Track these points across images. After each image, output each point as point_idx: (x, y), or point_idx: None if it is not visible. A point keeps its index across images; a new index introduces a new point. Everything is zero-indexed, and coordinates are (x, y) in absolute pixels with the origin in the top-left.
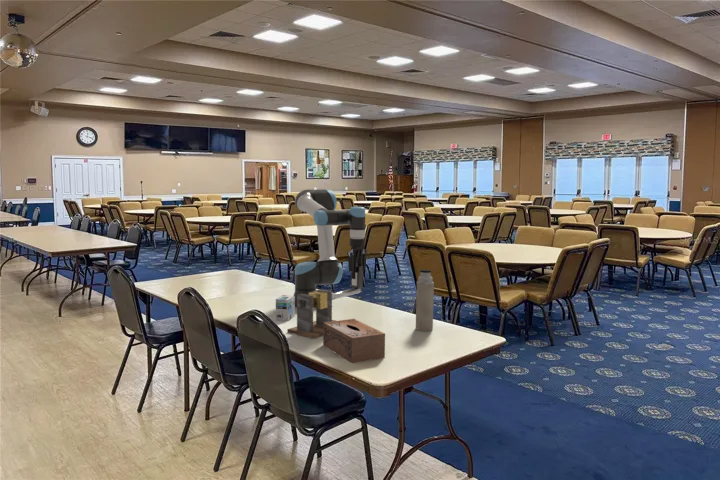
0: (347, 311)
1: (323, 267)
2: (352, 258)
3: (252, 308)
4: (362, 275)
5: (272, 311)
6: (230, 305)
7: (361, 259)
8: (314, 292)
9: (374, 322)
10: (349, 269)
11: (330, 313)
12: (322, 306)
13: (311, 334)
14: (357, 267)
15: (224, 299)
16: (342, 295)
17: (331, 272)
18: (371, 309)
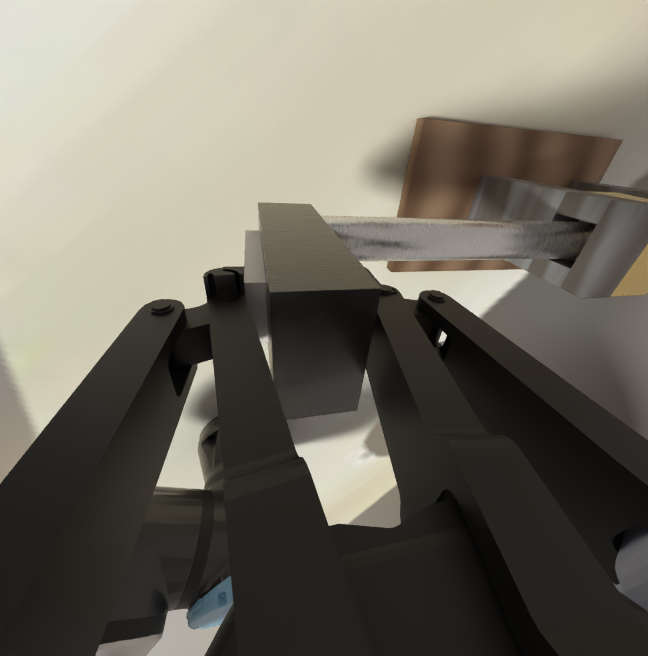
0: (205, 302)
1: (171, 578)
2: (627, 440)
3: (362, 461)
4: (267, 235)
5: (362, 427)
6: (364, 490)
7: (248, 438)
8: (644, 276)
9: (279, 42)
10: (438, 345)
11: (530, 183)
12: (618, 195)
13: (610, 157)
14: (371, 312)
15: (331, 521)
16: (461, 219)
17: (139, 539)
18: (69, 246)
